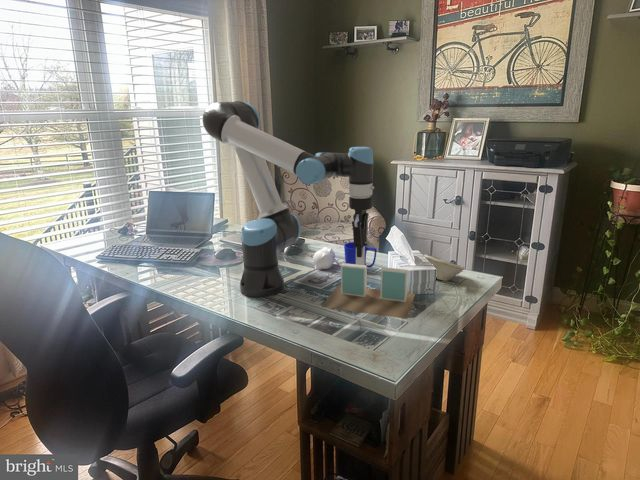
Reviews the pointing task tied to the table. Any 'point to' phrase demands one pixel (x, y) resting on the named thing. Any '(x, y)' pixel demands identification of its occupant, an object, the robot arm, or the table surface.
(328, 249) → the crumpled paper ball
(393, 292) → the tile
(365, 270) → the tile
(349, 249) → the mug
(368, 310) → the board
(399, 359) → the table surface
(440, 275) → the bowl
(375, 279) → the table surface
